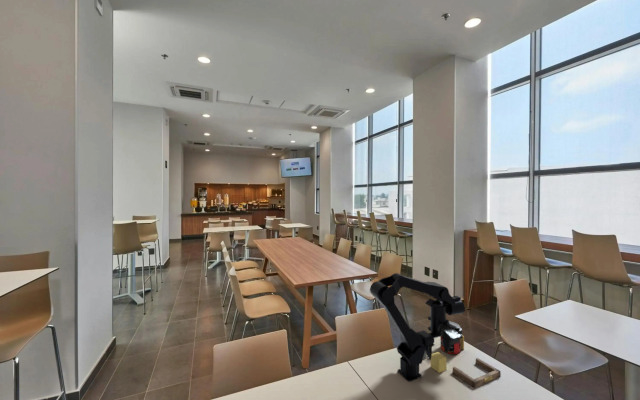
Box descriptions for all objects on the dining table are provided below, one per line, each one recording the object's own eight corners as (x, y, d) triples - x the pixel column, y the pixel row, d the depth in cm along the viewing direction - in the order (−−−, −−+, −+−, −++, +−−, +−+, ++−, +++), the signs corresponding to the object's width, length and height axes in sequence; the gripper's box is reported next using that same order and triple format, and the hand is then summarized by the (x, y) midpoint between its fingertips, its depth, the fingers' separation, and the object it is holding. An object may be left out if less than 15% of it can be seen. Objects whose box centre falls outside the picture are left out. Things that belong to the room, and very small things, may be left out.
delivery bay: (475, 388, 92) (475, 382, 92) (452, 372, 100) (452, 367, 100) (501, 376, 98) (501, 371, 98) (477, 362, 106) (477, 357, 106)
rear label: (463, 349, 115) (463, 336, 115) (453, 344, 120) (453, 331, 120) (464, 349, 115) (463, 336, 115) (454, 344, 120) (454, 331, 120)
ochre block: (439, 372, 100) (438, 360, 100) (430, 366, 104) (430, 354, 104) (446, 370, 102) (446, 357, 102) (438, 364, 106) (438, 351, 106)
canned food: (436, 347, 117) (436, 323, 117) (449, 343, 121) (448, 319, 121) (451, 356, 110) (451, 331, 110) (464, 352, 114) (464, 326, 114)
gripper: (437, 330, 92) (437, 374, 92) (473, 320, 99) (473, 361, 99) (414, 317, 102) (414, 357, 102) (448, 308, 109) (448, 346, 109)
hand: (438, 355), depth 103 cm, fingers open, 9 cm apart
